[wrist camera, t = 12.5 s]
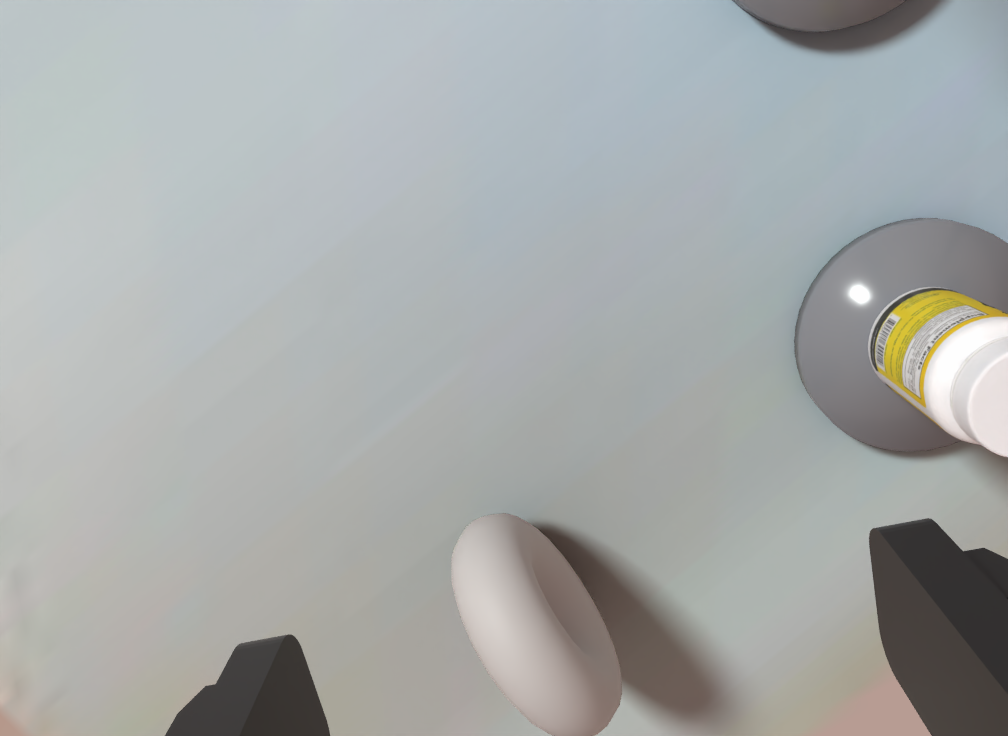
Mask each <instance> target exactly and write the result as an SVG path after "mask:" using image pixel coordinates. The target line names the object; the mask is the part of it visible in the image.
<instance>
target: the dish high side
mask: <svg viewBox="0 0 1008 736" xmlns="http://www.w3.org/2000/svg"><path fill="white" fill-rule="evenodd" d="M733 1H734V2H735V3H736V4H738V5H739V6H740V7H741V8H742V9H743V10H745V11H746V12H748V13H749V14H751V15H753V16H754V17H756V18H757V19H759V20H762V21H764V22H766V23H768V24H770V25H773V26H776V27H780V28H783V29H787V30H793V31H800V32H825V31H832V30H839V29H843V28H847V27H851V26H854V25H858V24H861V23H865V22H868V21H870V20H872V19H875V18H877V17H879V16H882V15H884V14H885V13H887V12H889V11H891V10H892V9H894V8H896V7H898V6H899V5H901V4H902V3H903V2H905V1H906V0H733Z"/></svg>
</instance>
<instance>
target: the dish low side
mask: <svg viewBox="0 0 1008 736" xmlns="http://www.w3.org/2000/svg"><path fill="white" fill-rule="evenodd" d="M924 287H941V288H947V289H950V290H953V291H956V292H958V293H961V294H963V295H965V296H968V297H970V298H972V299H975V300H977V301H980V302H982V303H984V304H986V305H989V306H991V307H994V308H996V309H998V310H1000V311H1003V312H1005V313H1008V244H1007V243H1006V242H1005V241H1003V240H1001V239H1000V238H998V237H997V236H995V235H994V234H991V233H989V232H987V231H984V230H982V229H980V228H977V227H973V226H969V225H966V224H962V223H959V222H955V221H952V220H945V219H938V218H916V219H908V220H902V221H898V222H894V223H890V224H886V225H884V226H881V227H879V228H876V229H874V230H871V231H869V232H868V233H866V234H864V235H862V236H860V237H858V238H857V239H855V240H854V241H852V242H851V243H849V244H848V245H846V246H845V247H844V248H843V249H841V250H840V251H839V252H838V253H837V254H836V255H835V256H833V257H832V258H831V259H830V261H829V262H828V263H827V264H826V265H825V266H824V267H823V268H822V270H821V271H820V272H819V274H818V275H817V277H816V278H815V279H814V281H813V282H812V284H811V286H810V288H809V290H808V292H807V293H806V295H805V297H804V300H803V303H802V305H801V308H800V311H799V314H798V319H797V323H796V329H795V339H794V343H795V358H796V363H797V368H798V371H799V374H800V377H801V380H802V383H803V385H804V387H805V389H806V391H807V393H808V394H809V396H810V397H811V399H812V400H813V401H814V403H815V404H816V405H817V406H818V408H819V409H820V410H821V411H822V412H823V413H824V414H825V415H826V416H827V417H828V418H829V419H830V420H831V421H832V422H833V423H834V424H835V425H836V426H837V427H838V428H840V429H841V430H842V431H844V432H845V433H846V434H848V435H850V436H852V437H853V438H855V439H857V440H859V441H861V442H864V443H866V444H869V445H871V446H875V447H879V448H882V449H887V450H895V451H922V450H931V449H935V448H940V447H944V446H947V445H950V444H953V443H956V442H959V441H961V440H960V439H957V438H955V437H953V436H952V435H950V434H948V433H947V432H946V431H944V430H943V429H942V428H941V427H939V426H938V425H937V424H936V423H934V422H933V421H932V420H931V419H929V418H928V417H927V416H926V415H924V414H923V413H922V412H921V411H919V410H918V409H917V408H915V407H914V406H913V405H911V404H910V403H909V402H907V401H906V400H905V399H904V398H902V397H901V396H900V395H898V394H897V393H896V392H894V391H893V390H892V389H890V388H889V387H888V386H887V385H886V384H885V383H884V382H883V381H882V380H881V379H880V378H879V377H878V376H877V374H876V373H875V371H874V369H873V367H872V365H871V362H870V359H869V353H868V341H869V335H870V332H871V329H872V326H873V324H874V322H875V320H876V318H877V317H878V315H879V314H880V313H881V311H882V310H883V309H884V308H885V307H886V306H887V305H888V304H889V303H891V302H892V301H893V300H894V299H896V298H897V297H899V296H900V295H902V294H904V293H906V292H909V291H911V290H915V289H918V288H924Z"/></svg>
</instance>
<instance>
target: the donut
mask: <svg viewBox="0 0 1008 736" xmlns="http://www.w3.org/2000/svg"><path fill="white" fill-rule="evenodd" d="M451 575H452V586H453V590H454V594H455V598H456V602H457V606H458V610H459V614H460V617H461V619H462V622H463V624H464V627H465V629H466V631H467V634H468V636H469V639H470V641H471V643H472V645H473V647H474V649H475V651H476V653H477V654H478V656H479V658H480V660H481V661H482V663H483V665H484V667H485V669H486V670H487V672H488V674H489V675H490V676H491V678H492V679H493V680H494V682H495V683H496V685H497V686H498V687H499V689H500V690H501V691H502V693H503V694H504V695H505V697H506V698H507V699H508V700H509V701H510V702H511V703H512V704H513V705H514V706H515V707H516V708H517V709H518V710H519V711H520V712H521V713H522V714H523V715H524V716H525V717H526V718H527V719H528V720H529V721H530V722H531V723H532V724H534V725H535V726H537V727H539V728H540V729H542V730H544V731H545V732H547V733H548V734H551V735H553V736H594V735H596V734H598V733H599V732H601V731H602V730H603V729H604V728H605V727H606V726H607V725H608V724H609V722H610V720H611V719H612V717H613V715H614V714H615V712H616V710H617V708H618V707H619V705H620V700H621V695H622V683H621V671H620V665H619V662H618V658H617V654H616V651H615V647H614V645H613V642H612V640H611V637H610V635H609V632H608V630H607V627H606V625H605V623H604V621H603V619H602V617H601V615H600V613H599V611H598V609H597V607H596V605H595V603H594V602H593V600H592V598H591V596H590V595H589V593H588V592H587V590H586V588H585V587H584V585H583V583H582V582H581V580H580V578H579V577H578V575H577V574H576V573H575V571H574V570H573V568H572V567H571V566H570V564H569V563H568V562H567V560H566V559H565V557H564V556H563V555H562V554H561V553H560V551H559V550H558V549H557V548H556V547H555V546H554V544H553V543H552V542H551V541H550V540H549V539H548V538H547V537H546V536H545V535H544V534H542V533H541V532H540V531H539V530H538V529H537V528H536V527H534V526H533V525H531V524H530V523H528V522H527V521H525V520H523V519H521V518H519V517H517V516H514V515H510V514H506V513H502V514H492V515H487V516H483V517H480V518H478V519H476V520H474V521H472V522H471V523H470V524H469V525H468V526H467V527H466V528H465V529H464V530H463V532H462V534H461V536H460V537H459V539H458V541H457V544H456V546H455V548H454V550H453V554H452V560H451Z"/></svg>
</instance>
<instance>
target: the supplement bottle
mask: <svg viewBox="0 0 1008 736" xmlns="http://www.w3.org/2000/svg"><path fill="white" fill-rule="evenodd" d="M868 353H869V359H870V362H871V365H872V367H873V369H874V371H875V373H876V374H877V376H878V377H879V378H880V379H881V380H882V381H883V382H884V383H885V384H886V385H887V386H888V387H889V388H890V389H892V390H893V391H894V392H896V393H897V394H898V395H900V396H901V397H902V398H904V399H905V400H906V401H907V402H909V403H910V404H911V405H913V406H914V407H915V408H917V409H918V410H919V411H921V412H922V413H923V414H924V415H926V416H927V417H928V418H929V419H931V420H932V421H933V422H934V423H936V424H937V425H938V426H939V427H941V428H942V429H943V430H944V431H946V432H947V433H948V434H950V435H952V436H953V437H955V438H957V439H960V440H962V441H965V442H969V443H973V444H979V445H982V446H983V447H985V448H986V449H988V450H989V451H991V452H993V453H995V454H997V455H1000V456H1004V457H1008V313H1005V312H1003V311H1000V310H998V309H996V308H994V307H991V306H989V305H986V304H984V303H982V302H980V301H977V300H975V299H972V298H970V297H968V296H965V295H963V294H961V293H958V292H956V291H953V290H950V289H947V288H941V287H924V288H918V289H915V290H911V291H909V292H906V293H904V294H902V295H900V296H899V297H897V298H896V299H894V300H893V301H892V302H891V303H889V304H888V305H887V306H886V307H885V308H884V309H883V310H882V311H881V313H880V314H879V315H878V317H877V318H876V320H875V322H874V324H873V326H872V329H871V332H870V335H869V341H868Z"/></svg>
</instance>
